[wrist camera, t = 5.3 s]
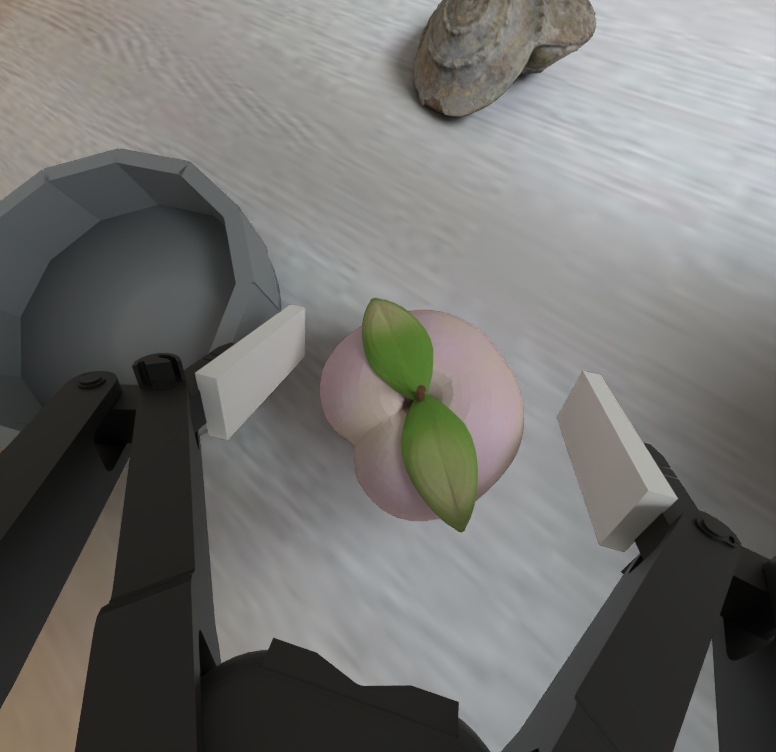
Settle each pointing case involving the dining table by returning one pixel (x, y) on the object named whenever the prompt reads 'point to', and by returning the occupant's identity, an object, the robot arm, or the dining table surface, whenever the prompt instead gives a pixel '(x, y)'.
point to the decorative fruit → (423, 411)
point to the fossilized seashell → (493, 48)
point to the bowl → (120, 274)
